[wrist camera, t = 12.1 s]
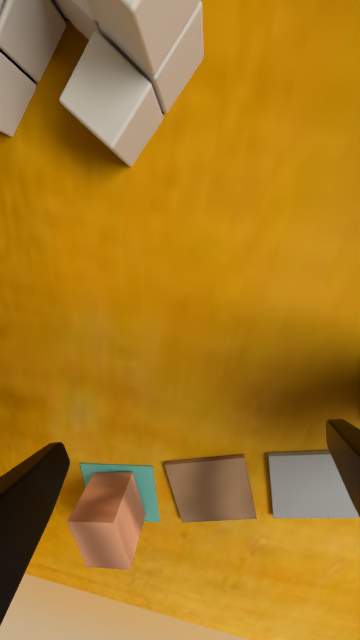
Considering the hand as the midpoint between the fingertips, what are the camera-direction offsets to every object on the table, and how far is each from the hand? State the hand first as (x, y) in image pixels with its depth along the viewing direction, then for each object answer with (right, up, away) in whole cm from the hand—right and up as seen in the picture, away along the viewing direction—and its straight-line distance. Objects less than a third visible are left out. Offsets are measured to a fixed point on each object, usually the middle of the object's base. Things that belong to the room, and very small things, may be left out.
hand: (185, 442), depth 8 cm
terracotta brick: (-7, -15, +19) cm, 25 cm away
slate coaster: (+13, -12, +16) cm, 24 cm away
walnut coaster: (+3, -13, +18) cm, 23 cm away
